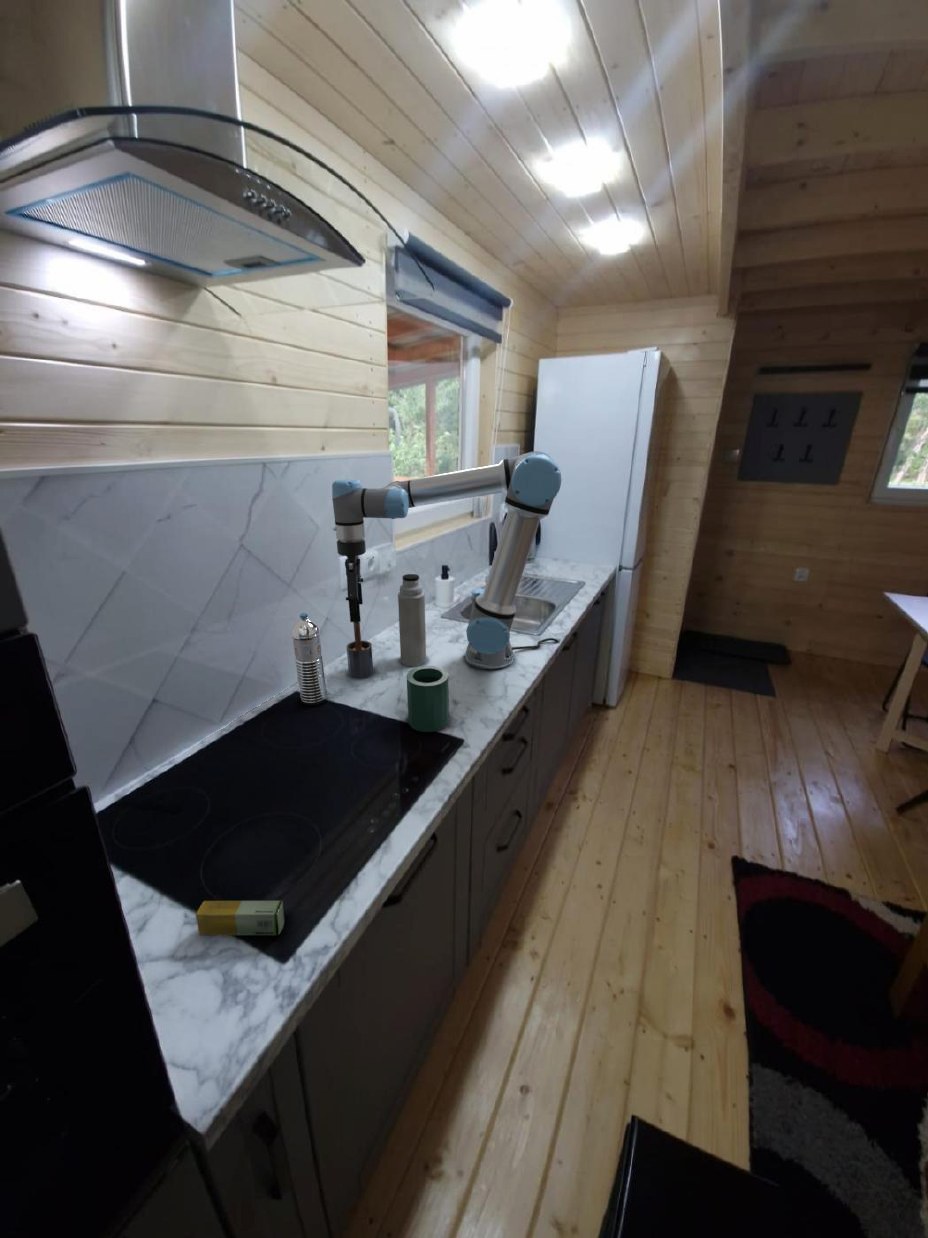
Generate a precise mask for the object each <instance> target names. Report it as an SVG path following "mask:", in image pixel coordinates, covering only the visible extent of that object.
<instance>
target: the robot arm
mask: <svg viewBox="0 0 928 1238" xmlns="http://www.w3.org/2000/svg"><path fill="white" fill-rule="evenodd" d="M561 486H562V473H561V469H560V467H559V465H558V463H557V462H556V461H555V460H554V459H553V457H551V456H549V455H548V454H547V453H545V452H542V451H537V450H535V451H529V452H527V453H524V454H520V455H517V456H513V457H510V458H504V459H502V460H501V461H500V462H499V463H498V464H493V465H486V466H481V467H475V468H469V469H464V470H458V471H453V472H448V473H446V472H445V473H441V474H436V475H430V476H424V477H418V478H412V479H408V480H396V481H395V480H394V481H390V482H389V483H388V484H387V485H385V486H383V487H382V488H365V487H363V485H362V482H361V481H360V480H358V479H336V480H335V481H333V482H332V484H331V496H332V498H331V499H332V506H333V507H332V508H333V516H334V527H333V528H332V530H333V531H334V532H335V536H336V539H337V541H336V548H337V549H336V551H337V554H338V555H339V556H342V557H346V558H345V561H344V567H345V575H346V589H347V590H346V591H347V596H345V601H348V609H349V610H348V611H349V622H350V623H353V622H360V623H361V621H362V620H361V609H360V605H363V604H364V603H363V602H364V601H363V590H362V583H364V578H363V577H362V574H361V558H360V557H359V556H363V555H365V553H366V552H367V549H366V540H365V539H364V538H365V536H366V534H365V520H364V519H368V518H369V519H370V518H371V519H391V520H395V519H405V518H406V517H407V516H408V513H409V509H410V508H415V507H421V506H427V505H434V504H439V503H446V502H451V501H457V500H458V501H459V500H464V499H471V498H477V497H482V496H488V495H496V494H501V493H503V494H504V495H506V496H505V498H504V505H505V506H506V508H507V513H506V516H505V520H504V523H503V527H502V529H501V533H500V537H499V539H498V543H497V546H496V550H495V554H494V556H493V559H492V563H491V567H490V569H489V573H488V577H487V579H486V583H485V587H483V588H477V589H475V590H473V592H472V594H471V611H470V615H469V620H468V625H467V627H466V629H465V630H466V631H465V632H466V639H467V642H468V644H467V647H466V649H465V656H464V657H465V658H464V659H465V661H466V663H467V664H469V665H470V666H472V667H474V668H477V669H482V670H499V669H504V668H506V667H509V666H510V665H511V664H512V663H513V662H514V651H516V650H527V649H538V648H540V646H541V644H542V643H545V642H548V641H553V642H555V643H560V640H558V639H556V638H554V637H548V638H543V639H541V640H539V641H537V645H526V646H525V645H524V646H513V647H512V644H511V641H510V638H511V636H510V635H511V632H510V631H511V628H512V626H513V623H514V619H515V616H516V613H517V608H516V606H515V604H514V601H515V599H516V596H517V593H518V589H519V586H520V583H521V580H522V577H523V574H524V571H525V568H526V565H527V562H528V558H529V555H530V553H531V551H532V550H531V549H532V547H533V544H534V541H535V538H536V534H537V531H538V528H539V525H540V523H541V520H542V519H544V518H546V517H548V516H549V514H550V511H551V509H552V505H553V502H554V499H555V498H556V496H557V495H558V494H559V492H560V490H561ZM351 595H354V596H351Z"/></svg>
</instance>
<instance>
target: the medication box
mask: <svg viewBox="0 0 928 1238" xmlns="http://www.w3.org/2000/svg"><path fill="white" fill-rule="evenodd" d="M284 913H285V912H284V901H283V900H204V901H203V902H201V904H200V906H199V908H198V909H197V911H196V913H195V918H196V925H197V930H198V935H199V936H277V937H279V936H280V935H281V933H282V931H283V929H284V926H285V914H284Z"/></svg>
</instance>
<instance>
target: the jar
mask: <svg viewBox="0 0 928 1238" xmlns="http://www.w3.org/2000/svg"><path fill="white" fill-rule="evenodd" d="M405 676H406V694H407V695H406V696H407V697H406V698H407V720H408V721H407V722H408V725H409V726H410V727H411V728H412V729H413V730H415V731H418V732H421V733H433V732H438V731H440V730H442V729H445V728H446V727H447V725H448V724H449V720H450V680H449V679H450V676H449V672H448V671H447V670H446V669H445V668H442V667H440V666H436V665H420V666H416V667H414V668H412V669H410V670H409V671H408V672H407V673H406V675H405Z"/></svg>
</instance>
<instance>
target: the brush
mask: <svg viewBox="0 0 928 1238" xmlns="http://www.w3.org/2000/svg"><path fill="white" fill-rule="evenodd" d="M351 596H354V595H351ZM352 624H353V635H354V641H355V648H353V650H363V649H365V648H364V647H362V645H361V641H362V634H361V633H362V632H361V622H352Z"/></svg>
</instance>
